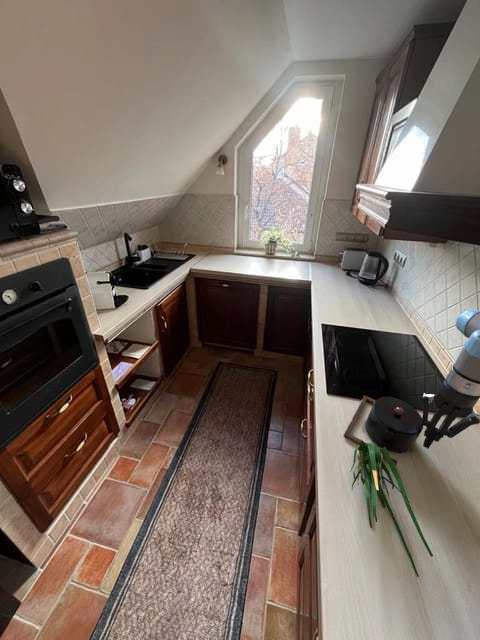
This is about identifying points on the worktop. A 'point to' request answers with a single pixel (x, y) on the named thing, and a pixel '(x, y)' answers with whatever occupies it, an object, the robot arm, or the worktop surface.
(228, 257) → the worktop surface
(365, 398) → the brown bent strip
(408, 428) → the pot
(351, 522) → the worktop surface
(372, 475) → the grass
